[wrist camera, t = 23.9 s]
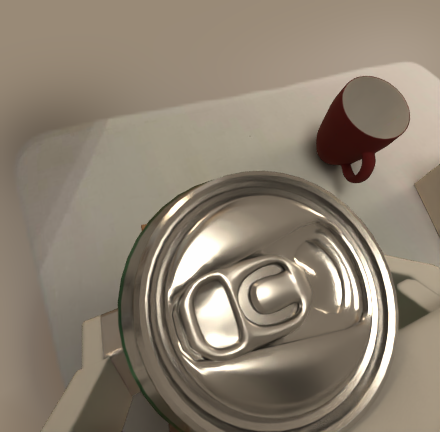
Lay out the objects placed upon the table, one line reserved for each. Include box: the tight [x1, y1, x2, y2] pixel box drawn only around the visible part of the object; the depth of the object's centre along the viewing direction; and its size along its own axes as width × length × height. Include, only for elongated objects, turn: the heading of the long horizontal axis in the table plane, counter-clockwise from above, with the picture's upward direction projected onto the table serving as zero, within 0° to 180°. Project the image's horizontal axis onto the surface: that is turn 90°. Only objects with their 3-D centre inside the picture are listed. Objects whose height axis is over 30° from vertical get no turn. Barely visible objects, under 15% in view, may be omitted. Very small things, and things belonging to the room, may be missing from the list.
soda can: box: [118, 171, 399, 432], centre depth 10 cm, size 5×5×12 cm
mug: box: [316, 76, 410, 183], centre depth 37 cm, size 10×8×10 cm
